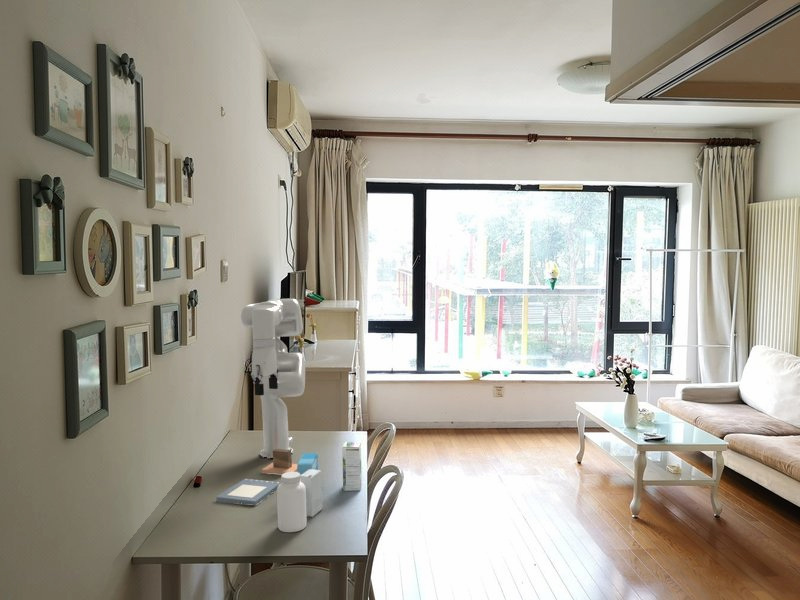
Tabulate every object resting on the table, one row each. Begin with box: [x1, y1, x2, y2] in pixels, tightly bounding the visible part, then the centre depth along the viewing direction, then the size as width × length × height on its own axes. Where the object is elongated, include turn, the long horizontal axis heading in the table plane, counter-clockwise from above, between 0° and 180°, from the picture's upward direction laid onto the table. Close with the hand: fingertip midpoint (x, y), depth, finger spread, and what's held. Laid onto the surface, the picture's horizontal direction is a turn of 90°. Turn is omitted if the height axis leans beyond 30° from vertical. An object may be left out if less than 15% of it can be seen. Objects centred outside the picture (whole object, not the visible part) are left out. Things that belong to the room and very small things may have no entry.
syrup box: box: [341, 441, 363, 492], centre depth 197 cm, size 6×6×14 cm
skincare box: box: [300, 469, 323, 518], centre depth 178 cm, size 6×4×12 cm
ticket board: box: [215, 478, 281, 505], centre depth 194 cm, size 16×14×2 cm
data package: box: [297, 452, 319, 475], centre depth 192 cm, size 12×4×12 cm, turn 179°
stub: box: [261, 449, 298, 474], centre depth 214 cm, size 8×12×8 cm, turn 72°
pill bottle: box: [276, 472, 307, 533], centre depth 169 cm, size 8×8×15 cm
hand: (266, 391), depth 211 cm, fingers open, 9 cm apart
